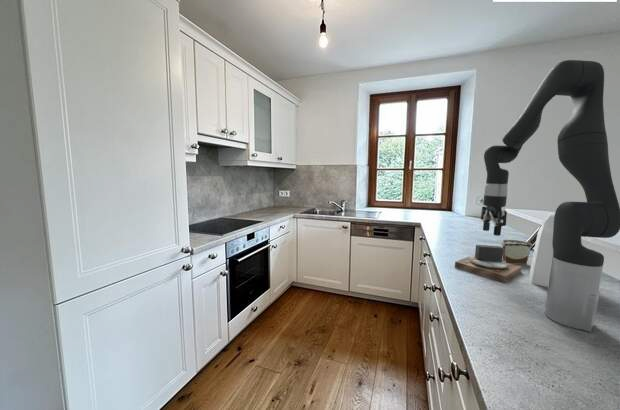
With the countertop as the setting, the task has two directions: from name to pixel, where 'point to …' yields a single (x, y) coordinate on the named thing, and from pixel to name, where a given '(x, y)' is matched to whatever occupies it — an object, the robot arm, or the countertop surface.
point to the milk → (543, 254)
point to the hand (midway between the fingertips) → (491, 232)
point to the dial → (489, 257)
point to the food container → (516, 251)
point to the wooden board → (489, 270)
